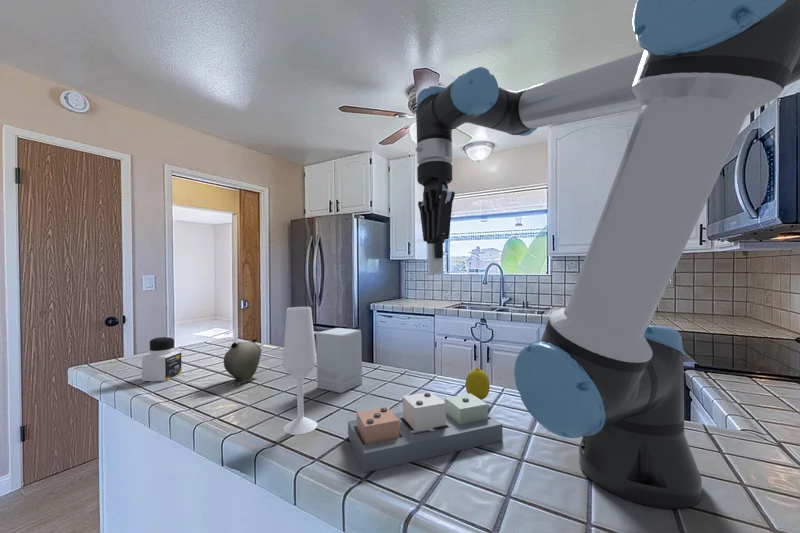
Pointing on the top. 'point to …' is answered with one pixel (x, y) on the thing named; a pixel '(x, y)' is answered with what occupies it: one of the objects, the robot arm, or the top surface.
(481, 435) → the console
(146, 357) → the medicine bottle
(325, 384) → the supplement box
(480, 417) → the tile one
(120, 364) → the top surface
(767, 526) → the top surface
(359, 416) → the tile three
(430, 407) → the tile two
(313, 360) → the champagne flute
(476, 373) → the lemon
